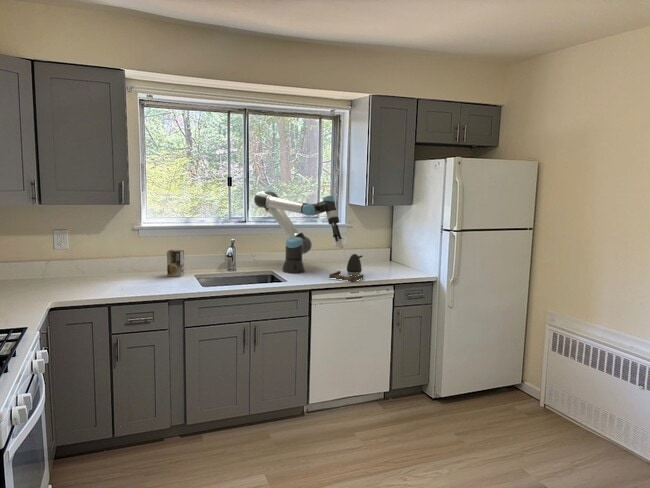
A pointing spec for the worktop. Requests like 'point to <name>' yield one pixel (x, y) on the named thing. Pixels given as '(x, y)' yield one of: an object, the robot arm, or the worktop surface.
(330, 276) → the walnut bay
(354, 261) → the dark grey tapered dome
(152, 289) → the worktop surface
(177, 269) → the coffee box
